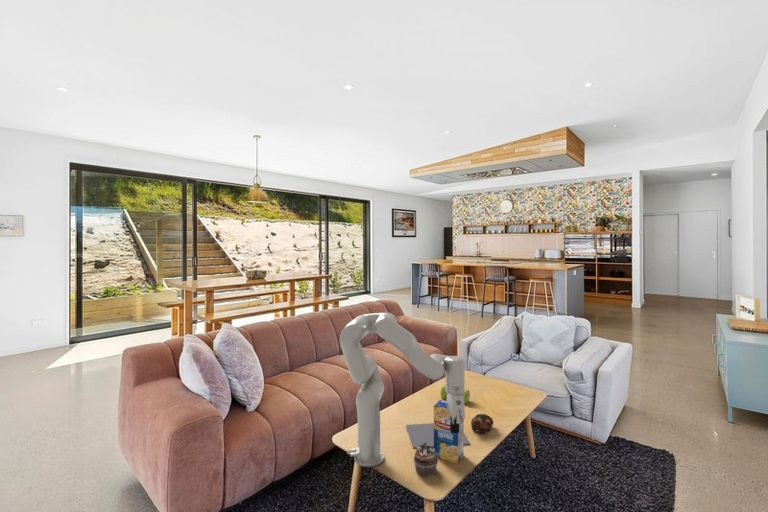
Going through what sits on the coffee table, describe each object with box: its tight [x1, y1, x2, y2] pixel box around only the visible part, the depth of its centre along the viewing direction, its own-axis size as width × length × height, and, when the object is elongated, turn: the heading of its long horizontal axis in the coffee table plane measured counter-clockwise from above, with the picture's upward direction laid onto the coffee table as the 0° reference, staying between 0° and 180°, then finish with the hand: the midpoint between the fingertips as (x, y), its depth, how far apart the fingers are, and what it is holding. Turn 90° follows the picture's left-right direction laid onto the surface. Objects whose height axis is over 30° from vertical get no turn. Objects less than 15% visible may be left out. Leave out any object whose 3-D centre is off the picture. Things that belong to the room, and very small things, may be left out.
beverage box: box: [433, 399, 465, 465], centre depth 160 cm, size 7×11×22 cm, turn 59°
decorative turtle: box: [470, 413, 494, 436], centre depth 181 cm, size 10×15×8 cm, turn 139°
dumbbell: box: [439, 384, 471, 405], centre depth 215 cm, size 16×8×7 cm, turn 59°
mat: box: [405, 422, 471, 450], centre depth 177 cm, size 26×20×1 cm
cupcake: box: [413, 443, 439, 478], centre depth 150 cm, size 10×10×10 cm
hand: (454, 432), depth 151 cm, fingers closed
